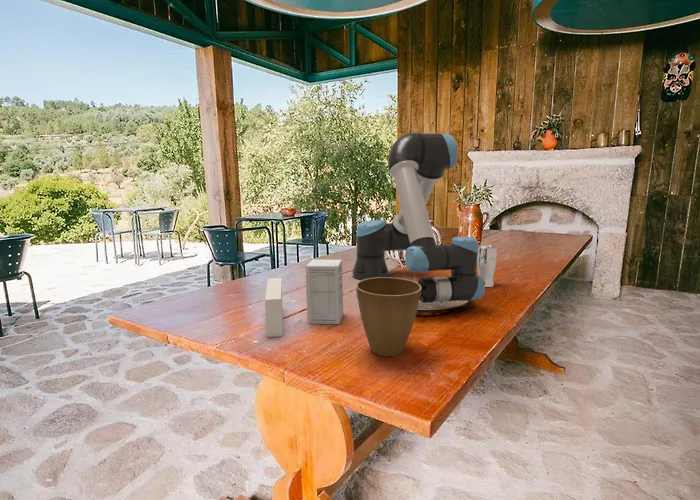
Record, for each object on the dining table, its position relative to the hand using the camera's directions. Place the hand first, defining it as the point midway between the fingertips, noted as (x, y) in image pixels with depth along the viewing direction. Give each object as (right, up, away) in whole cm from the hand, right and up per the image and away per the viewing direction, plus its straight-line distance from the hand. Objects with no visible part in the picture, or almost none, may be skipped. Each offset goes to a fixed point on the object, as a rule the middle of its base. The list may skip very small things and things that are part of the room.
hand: (356, 293), depth 112 cm
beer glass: (+50, -1, +35) cm, 61 cm away
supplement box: (-9, -7, 0) cm, 12 cm away
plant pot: (+7, -11, -21) cm, 25 cm away
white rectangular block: (-23, -8, -3) cm, 25 cm away
